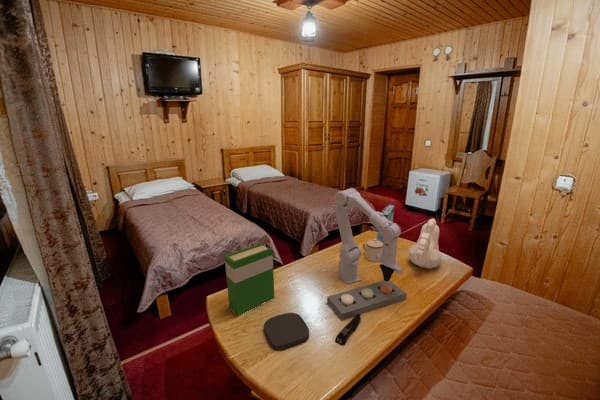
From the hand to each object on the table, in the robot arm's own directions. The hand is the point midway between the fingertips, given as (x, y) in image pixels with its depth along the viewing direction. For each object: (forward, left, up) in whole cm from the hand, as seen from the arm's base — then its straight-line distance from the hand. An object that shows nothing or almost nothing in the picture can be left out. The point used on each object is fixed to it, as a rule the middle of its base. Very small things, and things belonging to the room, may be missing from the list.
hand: (386, 280), depth 123 cm
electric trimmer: (+12, -27, -8) cm, 30 cm away
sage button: (0, -10, -5) cm, 11 cm away
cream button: (0, -20, -5) cm, 21 cm away
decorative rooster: (-12, +33, -8) cm, 36 cm away
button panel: (0, -10, -7) cm, 12 cm away
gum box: (-41, +33, -8) cm, 53 cm away
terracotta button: (0, 0, -6) cm, 6 cm away
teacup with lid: (-31, +16, -8) cm, 36 cm away
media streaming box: (+3, -48, -8) cm, 49 cm away
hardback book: (-19, -55, -8) cm, 59 cm away
